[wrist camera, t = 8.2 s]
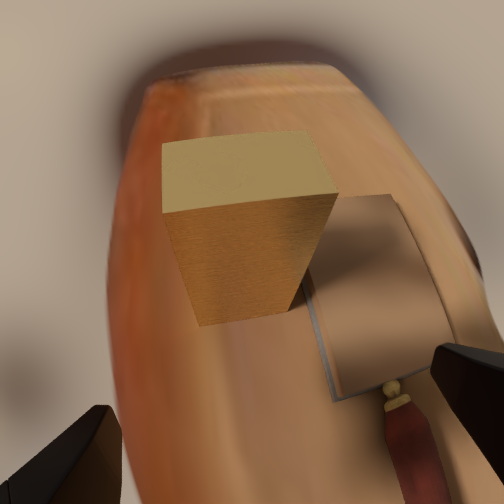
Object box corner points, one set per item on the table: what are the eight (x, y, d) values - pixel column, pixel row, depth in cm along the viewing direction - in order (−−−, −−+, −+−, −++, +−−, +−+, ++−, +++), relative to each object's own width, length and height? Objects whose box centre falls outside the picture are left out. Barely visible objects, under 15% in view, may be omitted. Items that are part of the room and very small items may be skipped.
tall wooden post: (287, 311, 17) (338, 192, 9) (199, 326, 16) (162, 213, 8) (273, 260, 19) (304, 124, 10) (192, 273, 18) (162, 137, 10)
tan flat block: (447, 359, 16) (460, 352, 14) (333, 402, 14) (342, 400, 13) (384, 204, 22) (391, 191, 21) (280, 215, 21) (283, 200, 19)
